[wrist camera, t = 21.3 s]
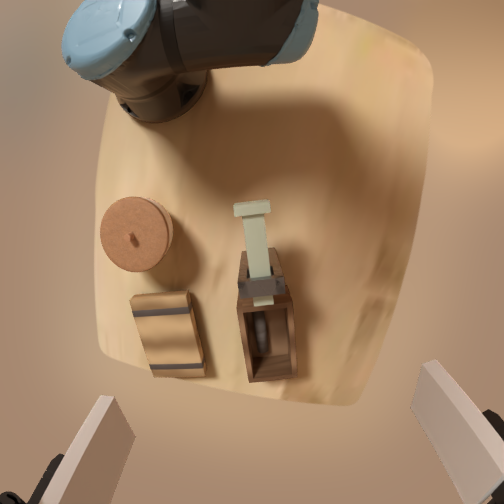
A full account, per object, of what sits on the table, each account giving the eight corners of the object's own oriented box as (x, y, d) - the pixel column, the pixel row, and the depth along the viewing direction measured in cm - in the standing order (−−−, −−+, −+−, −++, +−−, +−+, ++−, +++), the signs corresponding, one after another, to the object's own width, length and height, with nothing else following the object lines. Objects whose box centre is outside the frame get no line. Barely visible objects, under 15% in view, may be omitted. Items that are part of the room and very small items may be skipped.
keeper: (241, 251, 46) (237, 282, 33) (274, 247, 46) (283, 277, 32) (243, 263, 47) (240, 298, 33) (275, 259, 47) (285, 293, 33)
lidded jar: (167, 268, 47) (149, 288, 38) (113, 242, 46) (86, 256, 37) (191, 209, 45) (176, 216, 36) (133, 184, 44) (107, 186, 35)
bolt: (235, 203, 35) (233, 205, 31) (267, 199, 35) (269, 201, 31) (247, 296, 38) (247, 308, 34) (278, 292, 38) (280, 305, 34)
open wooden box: (238, 290, 48) (236, 308, 41) (286, 284, 48) (292, 301, 41) (249, 359, 51) (249, 382, 45) (292, 354, 51) (297, 377, 44)
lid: (136, 292, 48) (129, 300, 45) (190, 287, 48) (185, 295, 44) (158, 366, 52) (153, 377, 49) (207, 364, 52) (205, 376, 48)
